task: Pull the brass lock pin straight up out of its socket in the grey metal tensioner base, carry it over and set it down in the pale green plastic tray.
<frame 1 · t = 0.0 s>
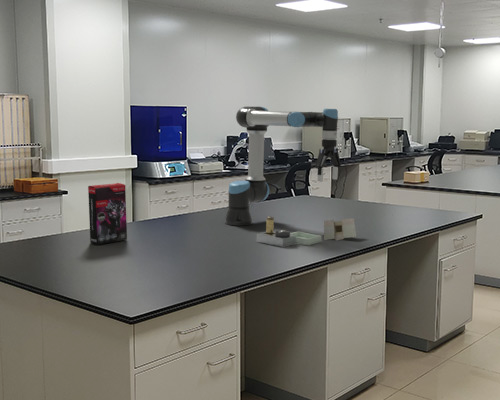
hand: (327, 180, 315), 28 cm above the countertop, fingers open, 13 cm apart
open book: (339, 238, 310), on the countertop
lock pin: (269, 241, 297), resting in tensioner base
tensioner base: (275, 242, 295), on the countertop
tray: (302, 241, 299), on the countertop
graphics card box: (108, 242, 288), on the countertop
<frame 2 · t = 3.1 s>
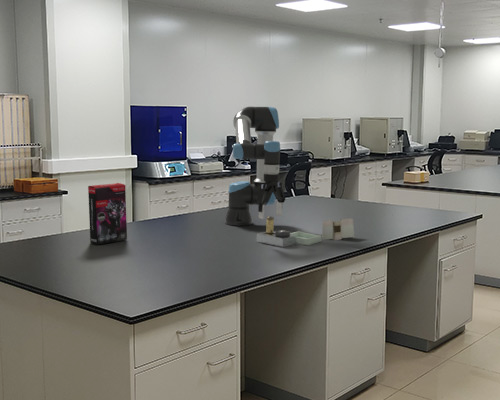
hand: (270, 217, 295), 12 cm above the countertop, fingers open, 13 cm apart
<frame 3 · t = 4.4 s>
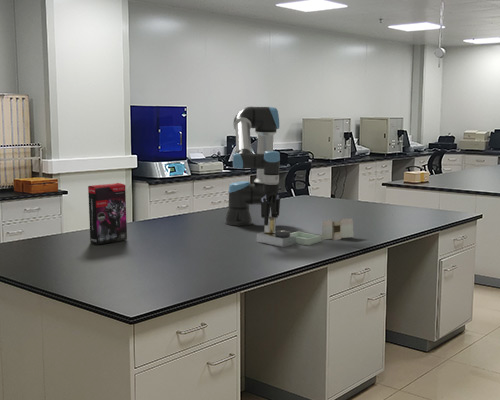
hand: (269, 231, 297), 5 cm above the countertop, fingers closed on lock pin, 3 cm apart
lock pin: (269, 241, 297), resting in tensioner base, touching gripper
everything else where it was.
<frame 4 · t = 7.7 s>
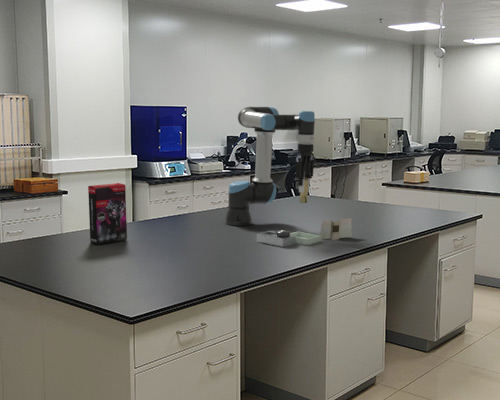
hand: (303, 191, 295), 25 cm above the countertop, fingers closed on lock pin, 3 cm apart
lock pin: (303, 202, 296), point 19 cm above the countertop, touching gripper
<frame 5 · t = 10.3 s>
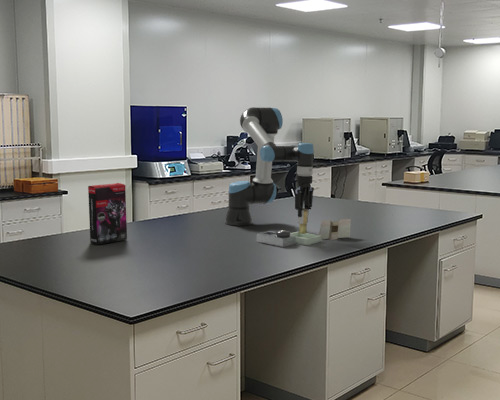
hand: (303, 222, 298), 9 cm above the countertop, fingers closed on lock pin, 3 cm apart
lock pin: (302, 232, 298), point 4 cm above the countertop, touching gripper
when the fingers open (8 cm above the countertop, at t = 11.0 s): lock pin drops 2 cm, resting on tray.
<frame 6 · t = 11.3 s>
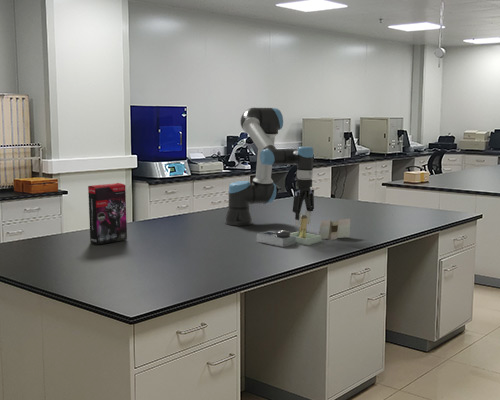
hand: (302, 225, 298), 8 cm above the countertop, fingers open, 7 cm apart
lock pin: (302, 239, 299), point 1 cm above the countertop, touching tray
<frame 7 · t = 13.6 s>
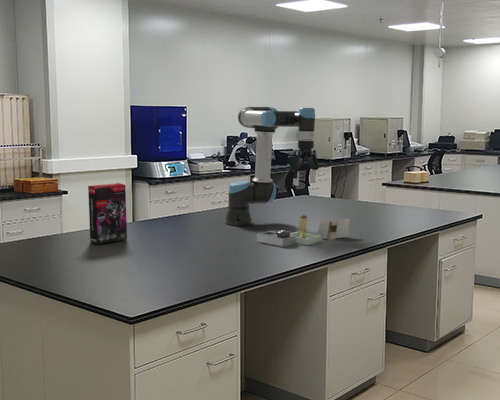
hand: (304, 184, 295), 28 cm above the countertop, fingers open, 13 cm apart
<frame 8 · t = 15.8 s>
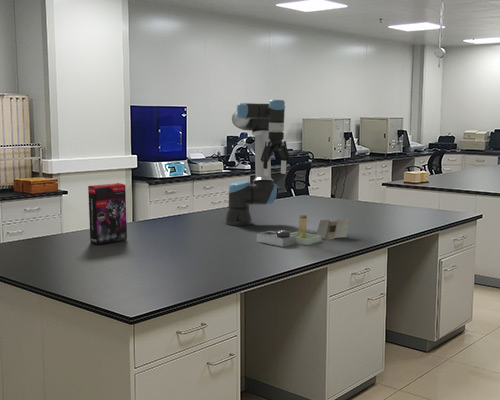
hand: (274, 174, 302), 32 cm above the countertop, fingers open, 13 cm apart
at the end: lock pin inside the target area on the tray (0.0 cm from its centre), point 0.8 cm above the tray's base; the gripper is holding nothing; lock pin touching tray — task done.
